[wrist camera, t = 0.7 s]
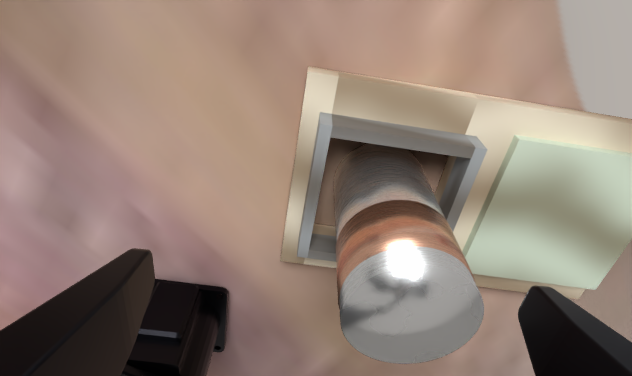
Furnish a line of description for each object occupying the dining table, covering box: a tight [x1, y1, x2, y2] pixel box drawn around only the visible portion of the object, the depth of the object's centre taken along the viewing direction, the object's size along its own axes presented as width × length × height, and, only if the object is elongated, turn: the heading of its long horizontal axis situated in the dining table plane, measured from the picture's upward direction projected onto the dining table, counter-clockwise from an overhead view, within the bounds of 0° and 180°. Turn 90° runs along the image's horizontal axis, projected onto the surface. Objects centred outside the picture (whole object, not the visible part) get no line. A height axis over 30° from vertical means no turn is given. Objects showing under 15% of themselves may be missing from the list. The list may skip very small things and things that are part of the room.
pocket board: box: [280, 66, 632, 299], centre depth 22 cm, size 12×20×3 cm, turn 81°
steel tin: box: [334, 143, 484, 364], centre depth 19 cm, size 5×5×10 cm
